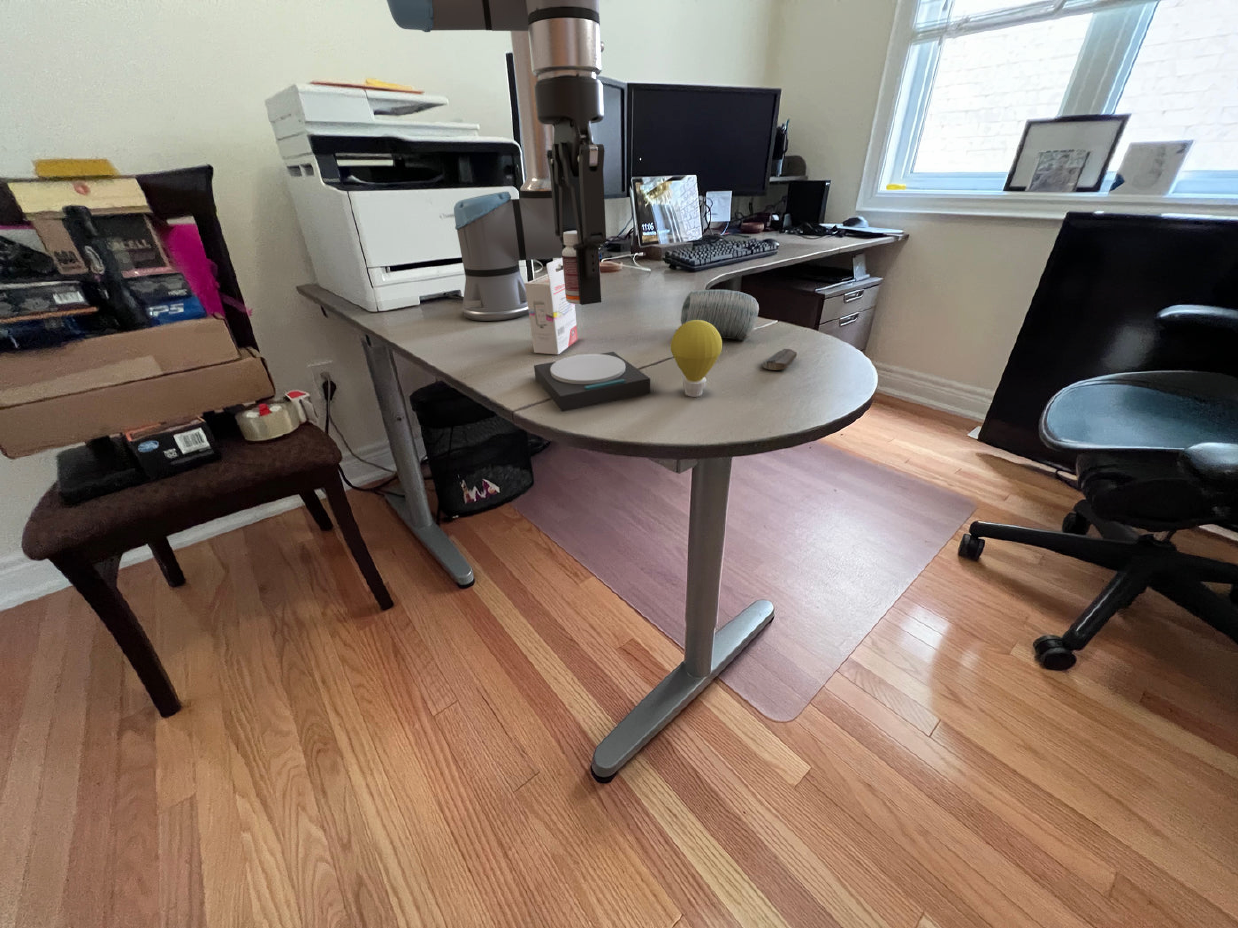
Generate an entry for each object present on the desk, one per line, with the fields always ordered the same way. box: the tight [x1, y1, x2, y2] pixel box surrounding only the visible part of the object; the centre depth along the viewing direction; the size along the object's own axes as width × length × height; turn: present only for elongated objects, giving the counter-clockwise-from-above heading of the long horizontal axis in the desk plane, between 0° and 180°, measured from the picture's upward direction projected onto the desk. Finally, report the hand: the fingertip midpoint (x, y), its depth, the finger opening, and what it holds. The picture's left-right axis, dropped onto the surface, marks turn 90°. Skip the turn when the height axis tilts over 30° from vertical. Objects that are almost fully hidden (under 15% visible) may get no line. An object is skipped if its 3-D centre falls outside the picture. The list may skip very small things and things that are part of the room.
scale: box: [533, 351, 651, 412], centre depth 71 cm, size 13×13×3 cm
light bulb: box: [670, 320, 723, 398], centre depth 65 cm, size 7×7×10 cm
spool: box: [680, 289, 760, 341], centre depth 88 cm, size 14×10×10 cm
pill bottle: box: [562, 231, 601, 305], centre depth 63 cm, size 5×5×8 cm
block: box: [762, 348, 797, 371], centre depth 76 cm, size 4×6×2 cm, turn 145°
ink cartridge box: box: [524, 258, 578, 356], centre depth 84 cm, size 9×5×15 cm, turn 160°
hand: (583, 298), depth 65 cm, fingers closed on pill bottle, 5 cm apart
